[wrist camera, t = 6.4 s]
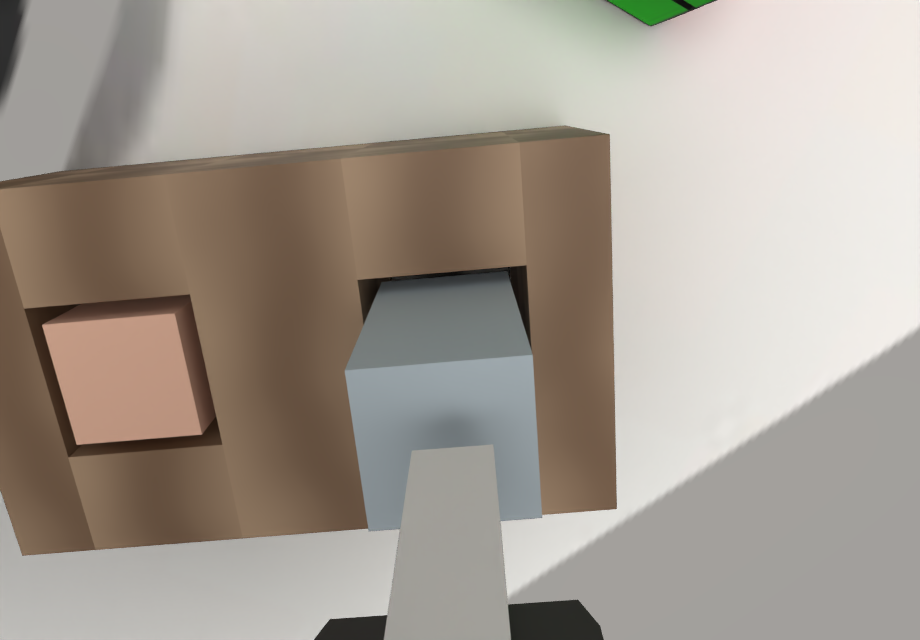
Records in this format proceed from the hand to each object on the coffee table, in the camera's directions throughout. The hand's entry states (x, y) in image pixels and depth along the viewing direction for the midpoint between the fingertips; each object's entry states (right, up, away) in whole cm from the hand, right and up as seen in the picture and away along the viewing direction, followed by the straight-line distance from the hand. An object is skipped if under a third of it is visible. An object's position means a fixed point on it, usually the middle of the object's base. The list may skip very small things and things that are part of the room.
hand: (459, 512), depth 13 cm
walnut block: (-5, +5, +16) cm, 17 cm away
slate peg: (0, +3, +9) cm, 10 cm away
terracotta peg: (-10, +4, +15) cm, 19 cm away
